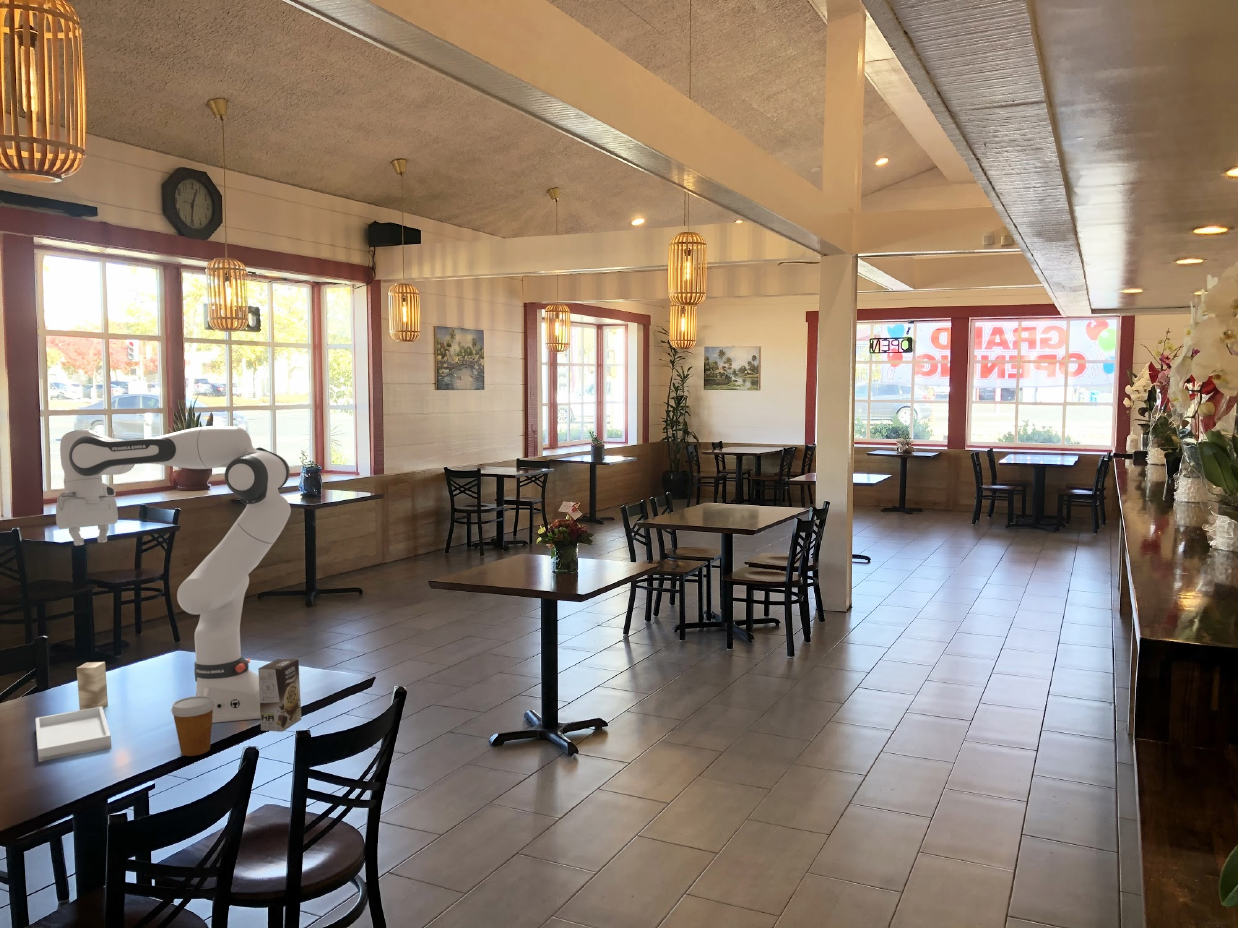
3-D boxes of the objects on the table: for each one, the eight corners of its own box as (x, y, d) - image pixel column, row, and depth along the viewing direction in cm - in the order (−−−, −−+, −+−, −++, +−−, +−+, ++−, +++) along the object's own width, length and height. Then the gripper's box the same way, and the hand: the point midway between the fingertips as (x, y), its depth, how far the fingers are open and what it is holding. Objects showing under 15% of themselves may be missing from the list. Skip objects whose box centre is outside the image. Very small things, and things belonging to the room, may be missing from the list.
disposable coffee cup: (206, 758, 219) (203, 708, 218) (166, 759, 219) (162, 708, 218) (224, 742, 229) (221, 694, 228) (185, 743, 229) (182, 695, 228)
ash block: (107, 704, 260) (105, 661, 259) (98, 710, 255) (95, 667, 254) (89, 705, 259) (86, 662, 258) (79, 711, 254) (76, 667, 253)
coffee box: (283, 732, 235) (280, 668, 234) (260, 730, 236) (256, 667, 235) (302, 719, 244) (299, 658, 243) (280, 718, 245) (277, 657, 244)
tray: (111, 747, 227) (110, 735, 227) (38, 761, 219) (37, 749, 219) (102, 717, 249) (102, 706, 249) (36, 729, 241) (35, 717, 241)
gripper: (69, 491, 238) (76, 545, 237) (119, 489, 258) (125, 539, 258) (45, 494, 238) (52, 548, 238) (97, 492, 259) (104, 542, 258)
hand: (91, 543), depth 248 cm, fingers open, 8 cm apart
